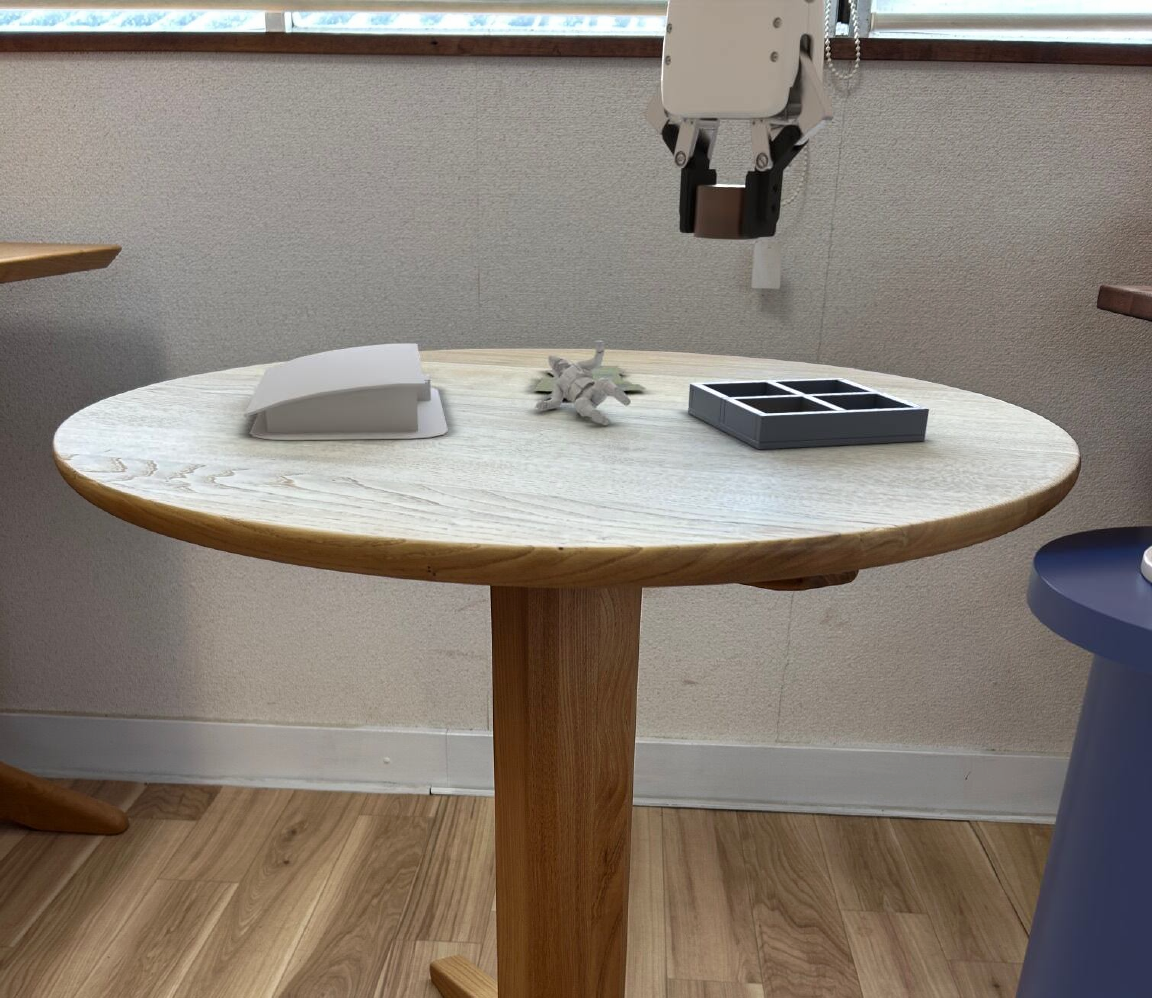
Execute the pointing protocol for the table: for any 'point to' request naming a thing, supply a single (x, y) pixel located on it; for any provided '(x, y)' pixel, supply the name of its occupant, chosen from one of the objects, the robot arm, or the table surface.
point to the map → (598, 373)
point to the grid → (806, 413)
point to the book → (348, 397)
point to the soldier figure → (582, 386)
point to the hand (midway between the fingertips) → (727, 231)
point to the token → (719, 212)
